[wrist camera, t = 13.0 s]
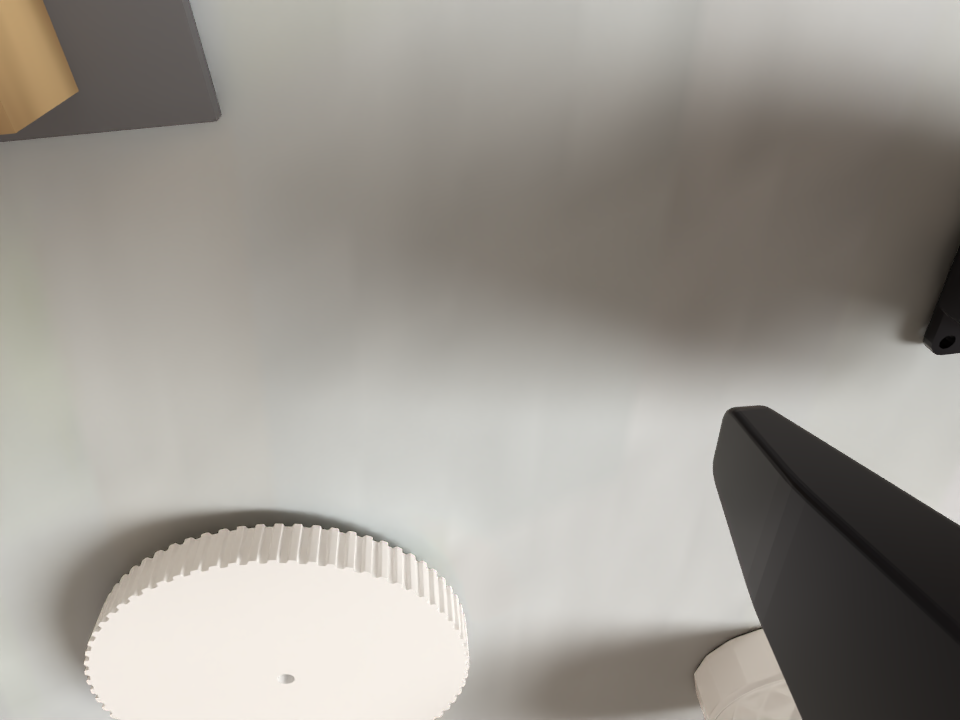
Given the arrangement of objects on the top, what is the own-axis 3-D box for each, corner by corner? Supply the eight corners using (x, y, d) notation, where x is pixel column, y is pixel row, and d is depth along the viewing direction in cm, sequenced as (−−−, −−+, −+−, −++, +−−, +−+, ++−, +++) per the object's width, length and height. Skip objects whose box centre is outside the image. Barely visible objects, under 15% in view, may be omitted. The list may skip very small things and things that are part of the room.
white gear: (450, 701, 33) (454, 756, 31) (144, 715, 31) (126, 776, 29) (480, 500, 25) (487, 556, 23) (69, 502, 23) (36, 564, 21)
